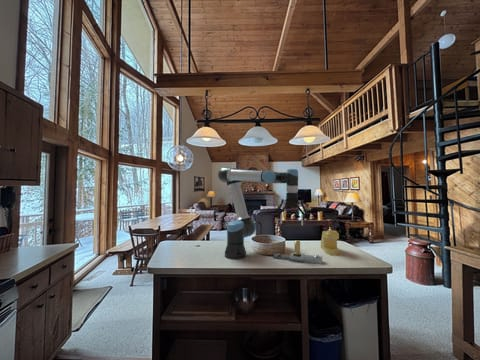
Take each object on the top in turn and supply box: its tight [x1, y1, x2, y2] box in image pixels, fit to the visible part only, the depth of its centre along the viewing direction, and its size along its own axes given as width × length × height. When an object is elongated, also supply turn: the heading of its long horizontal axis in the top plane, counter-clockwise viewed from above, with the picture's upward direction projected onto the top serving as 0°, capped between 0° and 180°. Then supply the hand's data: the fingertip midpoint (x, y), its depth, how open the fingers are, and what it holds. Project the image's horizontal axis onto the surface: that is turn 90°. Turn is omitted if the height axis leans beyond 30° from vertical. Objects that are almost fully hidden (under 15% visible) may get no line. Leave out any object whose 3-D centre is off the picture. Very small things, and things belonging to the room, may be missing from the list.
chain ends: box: [272, 252, 324, 265], centre depth 142 cm, size 31×9×4 cm, turn 68°
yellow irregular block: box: [320, 229, 340, 256], centre depth 162 cm, size 20×9×16 cm, turn 171°
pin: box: [293, 240, 301, 256], centre depth 142 cm, size 4×4×12 cm
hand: (291, 224), depth 144 cm, fingers open, 13 cm apart
